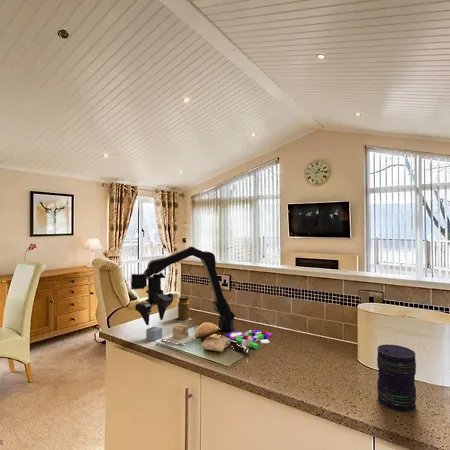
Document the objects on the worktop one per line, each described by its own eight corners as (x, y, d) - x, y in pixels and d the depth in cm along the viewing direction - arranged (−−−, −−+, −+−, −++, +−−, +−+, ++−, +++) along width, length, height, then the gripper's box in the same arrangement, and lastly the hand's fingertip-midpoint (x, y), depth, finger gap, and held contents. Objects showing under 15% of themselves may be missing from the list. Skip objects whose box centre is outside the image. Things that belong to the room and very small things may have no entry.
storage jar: (405, 394, 96) (405, 344, 96) (423, 413, 87) (423, 358, 87) (371, 393, 97) (371, 344, 97) (385, 411, 87) (385, 357, 87)
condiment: (192, 319, 175) (192, 297, 175) (179, 322, 169) (179, 299, 169) (184, 316, 180) (184, 295, 180) (171, 319, 174) (171, 297, 174)
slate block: (162, 337, 146) (162, 328, 146) (154, 341, 141) (154, 331, 142) (154, 336, 148) (154, 326, 148) (146, 339, 144) (146, 329, 144)
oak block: (179, 334, 147) (179, 324, 147) (188, 336, 145) (188, 326, 145) (172, 337, 143) (172, 327, 143) (181, 339, 140) (181, 329, 140)
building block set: (246, 329, 159) (246, 320, 159) (281, 339, 145) (281, 329, 145) (209, 342, 141) (209, 332, 141) (245, 355, 127) (245, 344, 127)
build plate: (199, 337, 146) (199, 335, 146) (183, 345, 136) (183, 343, 136) (178, 333, 152) (178, 330, 152) (161, 340, 142) (161, 338, 142)
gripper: (153, 293, 133) (153, 331, 133) (181, 286, 149) (181, 319, 149) (134, 291, 138) (134, 327, 138) (162, 284, 155) (163, 316, 155)
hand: (154, 322), depth 145 cm, fingers open, 9 cm apart
